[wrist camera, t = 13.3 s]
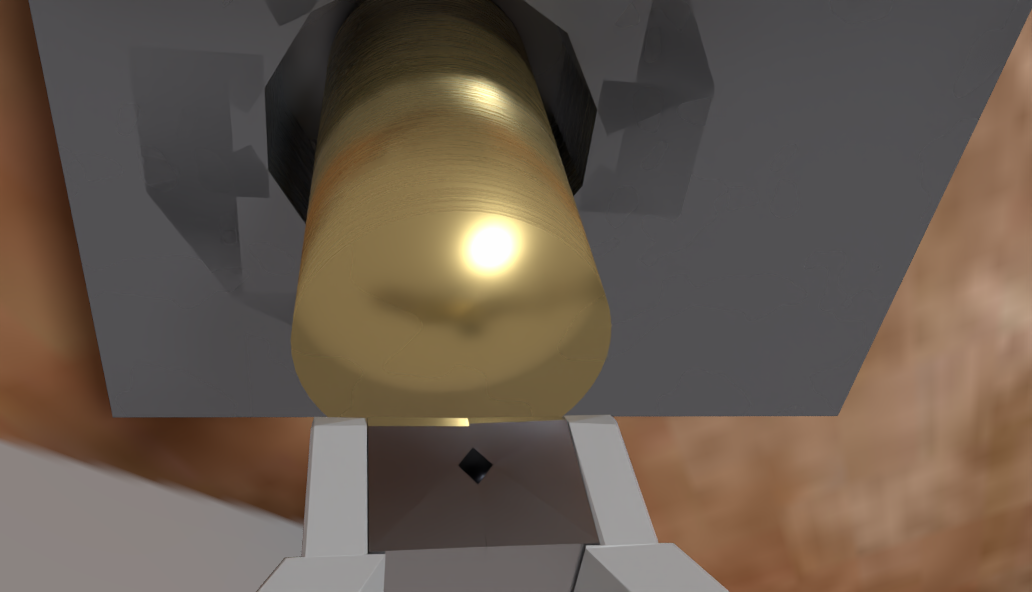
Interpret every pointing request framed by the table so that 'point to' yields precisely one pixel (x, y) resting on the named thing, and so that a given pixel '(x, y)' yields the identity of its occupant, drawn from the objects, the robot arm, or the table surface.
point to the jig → (588, 166)
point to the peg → (442, 228)
